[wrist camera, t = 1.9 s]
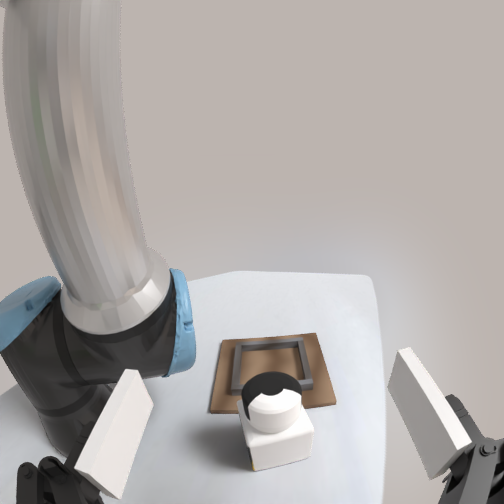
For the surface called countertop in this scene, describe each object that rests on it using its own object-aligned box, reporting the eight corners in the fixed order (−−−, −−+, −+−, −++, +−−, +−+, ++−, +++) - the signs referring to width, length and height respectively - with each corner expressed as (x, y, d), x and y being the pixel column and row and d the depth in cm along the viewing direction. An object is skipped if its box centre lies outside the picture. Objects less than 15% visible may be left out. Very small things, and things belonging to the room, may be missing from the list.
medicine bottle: (242, 430, 31) (230, 371, 27) (293, 419, 32) (294, 357, 28) (253, 472, 24) (241, 421, 20) (311, 458, 25) (318, 402, 21)
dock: (211, 413, 34) (208, 403, 33) (223, 342, 51) (221, 333, 50) (335, 404, 33) (337, 394, 32) (315, 335, 50) (315, 326, 49)
